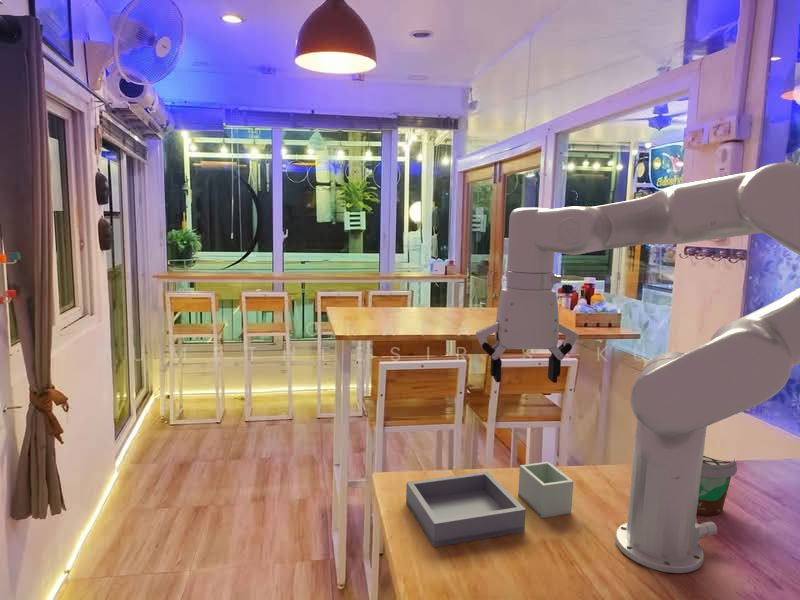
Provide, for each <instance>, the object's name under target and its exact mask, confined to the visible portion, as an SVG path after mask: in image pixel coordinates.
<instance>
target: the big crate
mask: <svg viewBox="0 0 800 600" xmlns="http://www.w3.org/2000/svg"><path fill="white" fill-rule="evenodd" d="M405 490H406V491H405V492H406V494H405V496H406V497H405V499H406V500H405V503H406V505H407V507H408V508H409V510H410V511H411V514H412V515H413V516H414V518H415V519H416V521H417V522H418V524H419V527H421V529H422V532H424V534H425V536H426V537H427V539H428V541H429V542H430V544H431V545H432V547H433V548H437V547H445V546H452V545H456V544H462V543H467V542H468V543H469V542H474V541H480V540H485V539H491V538H492V539H493V538H498V537H503V535H504V536H508V535H515V534H520V533H525V531H526V529H525V528H526V527H525V526H526V512H527V511H526V508H525V507H524V506H523V505H522V504H521V503H520V502H519V501H518V500H517V499H516V498H515V497H514V496H513V495H512V494H511V493H510V492H509V491H508V490H507V489H506V488H505V487H504V486H503V485H502V484H501V483H500V482H499V481H498V480H497V479H496V478H495V477H494V476H493V475H492V474H491V473H490V471H483V472H474V473H466V474H458V475H451V476H443V477H434V478H430V479H429V478H427V479H421V480H420V479H419V480H414V481H413V480H412V481H406V489H405Z"/></svg>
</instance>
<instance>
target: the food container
mask: <svg viewBox="0 0 800 600" xmlns="http://www.w3.org/2000/svg"><path fill="white" fill-rule="evenodd" d="M737 467H738V466H737V461H736V458H733V461H725V460H720V459H714V458H712V457H710V456H709V457H708V456H706V455H703V463H702V469H701V478H700V487H699V496H698V505H697V514H696V517H700V516H702V517H701V518H712V517H711V516H714V517H717V515H718V516H720V515H721V514H722V513H723V510H724V506H725V503H726V498H727V494H728V491H729V487H730V483H731V479H732V477H733V476H735V475H736V474H737V473H738V468H737ZM719 514H720V515H719ZM703 516H704V517H703Z"/></svg>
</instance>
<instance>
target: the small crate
mask: <svg viewBox="0 0 800 600" xmlns="http://www.w3.org/2000/svg"><path fill="white" fill-rule="evenodd" d="M518 473H519V475H518V478H519V479H518V491H517V492H518V493H517V494H518V495H517V496H518V497H519V498H520V499H521V500H522V502H524V503H525V504H526V505H527V506H528V507H529V508H530V509H531V510H533V512H534V513H535V514H536V515H538V517H540V519H543V518H549V517H555V516H556V517H557V516H562V515H568V514H572V506H573V494H574V493H573V492H574V480H573V479H571V478H570V477H569V476H568V475H567V474H565V473H564V472H562V471H561V470H560V469H558V468H557V467H556V466H555V465H553V464H552V463H550V461H542V462H535V463H528V464H527V463H526V464H521V465H519V472H518Z"/></svg>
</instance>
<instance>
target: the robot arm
mask: <svg viewBox="0 0 800 600" xmlns="http://www.w3.org/2000/svg"><path fill="white" fill-rule="evenodd" d="M759 234H764V235H765V236H767V237H769V238H770V239H772V240H774V241H775V242H777V243H779V244H780V245H782V246H783V247H785V248H787V249H788V250H790V251H791V252H793V253H795V254H797V255H799V256H800V165H799V164H796V163H791V162H775V163H770V164H767V165H764V166H761V167H760V168H758V169H756V170H751V171H746V172H741V173H735V174H732V175H726V176H720V177H713V178H710V179H705V180H704V179H703V180H698V181H693V182H686V183H681V184H680V183H679V184H675V185H671V186H668V187H665V188H663V189H660V190H658V191H656V192H654V193H652V194H648V195H646V196H642V197H640V198H639V197H638V198H635V199H630V200H625V201H624V200H623V201H620V202H619V201H618V202H614V203H608V204H603V205H596V206H583V205H582V206H577V205H576V206H575V205H574V206H566V207H558V208H548V207H518V208H515V209H513V210H512V211H511V212H510V215H509V223H508V240H507V242H508V243H507V244H508V246H507V268H506V269H507V271H506V288H505V287H504V288H501V290H500V294H499V298H498V304H497V311H496V318H495V322H494V323H492V324H490V325H488V326H486V327H484V328H481V329H479V330H477V331H476V332H475V336H476V338H477V340H478V342H479V344H480V346H481V348H482V349H483V350H484V351H485V353H487V354H488V356H490V376H491V377H492V378H493V379H494V381H495V382H496V383H501V382H502V364H503V363H502V362H503V361H502V359H501V356H502V355H503V354H504V353H505V351H506V350H549V352H550V353H551V355H549V357H548V365H547V366H548V367H547V378H548V379H549V380H550V381H551V382H552V383H553V384H556V383H558V378H559V377H560V376H561V365H562V364H561V362H562V361H563V359H564V357H565V356H566V355H567V354H568V353H569V352H570V351H571V350H573V346H574V345H575V343H576V341H577V340H578V337H579V334H578V333H577V332H575V331H573V330H571V329H569V328H567V327H565V326H564V325H562V324H560V320H559V315H560V314H559V306H558V305H559V304H558V297H557V291H556V290H554V289H553V288H554V286H555V285H556V284H561V283H562V276H561V275H557V274H555V272H554V263H555V262H554V261H555V253H558V254H563V255H568V256H569V255H570V256H574V255H575V256H578V255H583V254H587V253H593V252H599V251H605V250H612V249H614V250H615V249H619V248H620V249H621V248H628V247H635V246H645V245H666V246H668V245H669V246H671V245H680V244H681V245H683V244H689V243H697V242H705V241H711V240H719V239H720V240H721V239H726V238H727V239H728V238H734V237H742V236H750V235H759ZM492 334H494V337H495V341H496V343H495V344H494V345H493V346H491V344H490V343H489V342H488V340H487V338H488V336H491V335H492ZM560 334H561V335H563V336H565V341H564V342H562V343H561V345H559V346H558V343H559V339H560V338H559V337H560ZM799 364H800V287H799V288H796V289H795V290H793V291H791V292H789V293H787V294H786V295H784V296H782V297H780V298H779V299H777V300H775V301H773V302H770V303H769V304H767V305H764V306H763V307H761V308H759V309H756V310H755V311H753V312H751V313H749V314H746V315H744V316H743V317H740V318H737V319H735V320H733V321H732V320H731V321H730V322H728V323H724V325H722V326H721V327H719V328H718V329H717V330H716V331H715V332H714V333H713V334H712V336H711V338H710V340H708V341H706V342H705V343H702V344H701V345H699V346H697V347H695V348H693V349H691V350H689V351H687V352H681V351H668V352H667V351H666V352H663V353H661V354H658V355H656V356H655V357H653V358H651V360H650V361H648V362H647V364H645V366H644V367H643V369H642V370H641V371H640V373H639V375H638V376H637V378H636V379H635V381H634V383H633V385H632V388H631V391H630V407H631V410H632V413H633V415H634V416H635V418H636V428H635V435H634V446H633V456H632V464H631V465H632V466H631V478H630V489H629V500H628V509H627V510H628V513H627V521H626V522H625V523H622V524H621V525H620V526H618V527H617V529H616V530H615V539H614V540H615V543H616V546H617V547H618V548H619V550H620V551H621V552H622V553H623V554H624V555H625V556H627V558H629V559H631V560H632V561H633V562H635V563H637V564H639V565H641V566H643V567H647V568H649V569H653V570H655V571H657V572H658V571H659V572H663V573H671V574H685V573H686V574H687V573H691V572H695V571H696V570H698V569H699V568H701V567H702V565H703V563H704V558H705V557H704V551H703V548H702V546H701V545H700V544H699V540H701V539H702V538H703V536H705V537H707V536H712V535H716V534H717V533H718V527H717V525H716V524H715V523H714V522H713V521H712V520H711V521H704V522H701V523H698V519H697V516H696V514H697V505H698V496H699V487H700V478H701V469H702V463H703V456H704V452H705V445H706V436H707V427H708V426H711V425H713V424H716V423H718V422H720V421H723V420H725V419H728V418H730V417H732V416H734V415H737V414H740V413H742V412H744V411H746V410H750V409H751V408H754V407H756V406H758V405H760V404H763V403H765V402H766V401H768V400H770V399H771V398H773V397H774V396H775V395H777V394H778V393H779V392H780V391H781V390H783V388H784V387H785V386H786V384H787V383H788V381H789V379H790V377H791V374H792V370H793V369H792V368H793V367H795V366H798V365H799Z"/></svg>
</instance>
